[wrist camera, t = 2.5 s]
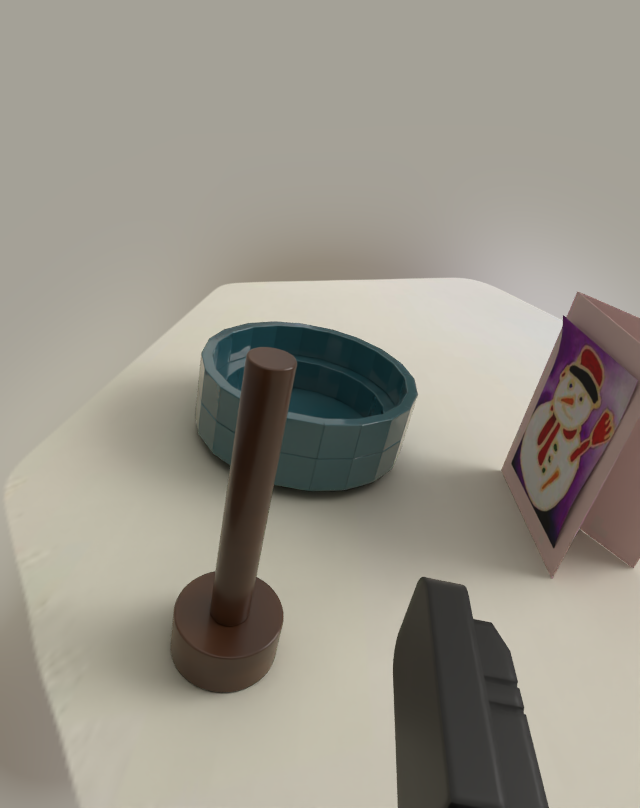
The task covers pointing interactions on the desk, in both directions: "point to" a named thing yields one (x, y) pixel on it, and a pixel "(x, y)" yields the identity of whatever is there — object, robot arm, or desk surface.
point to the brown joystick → (240, 546)
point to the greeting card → (583, 438)
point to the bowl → (313, 403)
